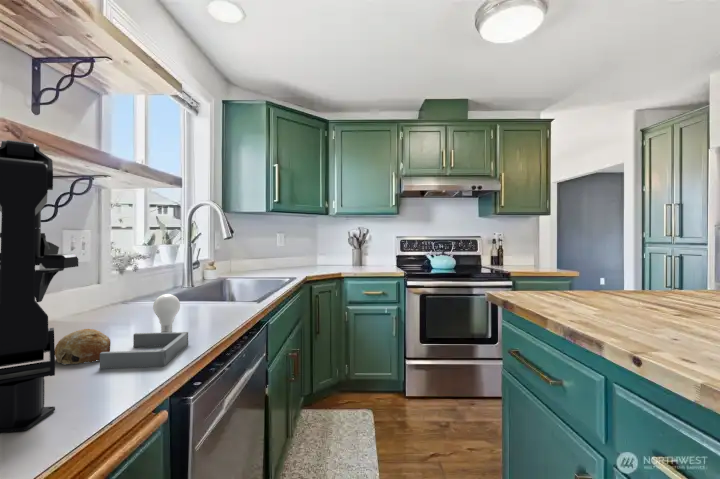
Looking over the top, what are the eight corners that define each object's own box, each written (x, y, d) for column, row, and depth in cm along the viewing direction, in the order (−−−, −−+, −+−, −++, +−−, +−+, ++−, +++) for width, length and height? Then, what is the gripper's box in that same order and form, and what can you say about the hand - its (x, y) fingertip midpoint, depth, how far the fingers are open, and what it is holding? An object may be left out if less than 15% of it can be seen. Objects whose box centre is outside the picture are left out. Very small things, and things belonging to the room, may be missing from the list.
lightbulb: (172, 339, 98) (172, 296, 98) (147, 338, 98) (148, 295, 98) (184, 332, 104) (184, 292, 104) (161, 332, 104) (161, 292, 104)
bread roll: (49, 381, 79) (40, 351, 75) (70, 347, 87) (63, 319, 84) (104, 377, 81) (98, 348, 78) (119, 344, 90) (114, 317, 87)
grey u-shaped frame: (164, 366, 78) (164, 351, 78) (99, 368, 76) (99, 353, 76) (188, 344, 93) (188, 331, 93) (135, 345, 92) (135, 333, 92)
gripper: (92, 229, 90) (92, 295, 90) (3, 228, 88) (3, 296, 88) (62, 228, 79) (62, 304, 79) (-40, 227, 77) (-41, 305, 77)
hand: (22, 302), depth 81 cm, fingers open, 6 cm apart
